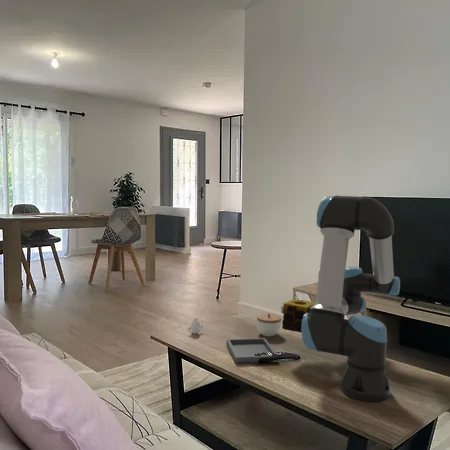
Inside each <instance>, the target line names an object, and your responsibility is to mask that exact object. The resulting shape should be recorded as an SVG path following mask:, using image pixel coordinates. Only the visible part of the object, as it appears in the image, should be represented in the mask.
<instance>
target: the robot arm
mask: <svg viewBox="0 0 450 450" xmlns="http://www.w3.org/2000/svg"><path fill="white" fill-rule="evenodd" d="M316 225H317V227H318V228H320V233H321V235H323V241H322V242H323V243H322V249H321V255H320V263H319V264H320V265H319V271H318V278H317V286H316V295H315V301H314V302H315V304H314V305H313V306H312V307H310V310H309V313H305V314H304V316H303V319H302V333H301V337H302V342H303V344H304V346H305V348H307V349H309V350H313V351H316V352H322V353H326V354H332V355H338V356H343V357H347V359H346V360H347V361H346V367H345V368H344V371H343V373H342V376H341V378H340V385H339V388H340V390H341V392H342V393H344V394H345V395H346V396H347V397H351V398H352V399H355V400H358V401H359V400H360V401H365V402H383V401H385V400H387V399H389V397H390V395H391V394H390V393H391V392H390V389H391V387H390V383H389V380H388V377H387V373H386V372H387V371H386V355H387V354H386V353H387V342H388V336H387V335H388V334H387V333H388V331H387V326H386V325H385V324H384V323H383V322H381V320H378V319H376V318H374V317H373V318H372V317H370V316H365V315H357V314H360V313H362V312H364V311H365V310H366V308H367V302H366V300H365V297H364V296H362V292H363V293H370V294H377V295H386V296H399V294H400V290H401V279H400V277H398V276H395V273H394V272H395V271H394V257H393V256H394V255H393V254H394V253H393V237H392V236H393V235H394V233H395V223H394V219H393V217H392V214H391V213H390V211H388V209H387V207H386V206H385V205H384V204H383V203H381V202H380V201H379V200H377V199H375V198H373V197H370V196H357V195H356V196H351V195H350V196H349V195H326V196H324V198H322V199H321V201H320V202H319V205H318V208H317V211H316ZM355 231H365V234H366V236H367V237H368V239H369V247H370V255H371V256H370V258H371V265H372V267H371V268H372V273H365V272H363V269H362V268H361V267H357V266H347V260H348V250H349V241H350V239H352V238H353V237H355ZM283 311H284V306H283V305H281V306H280V313H281V314H283ZM346 316H349V318H348V319H346V318H345V317H346Z"/></svg>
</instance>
